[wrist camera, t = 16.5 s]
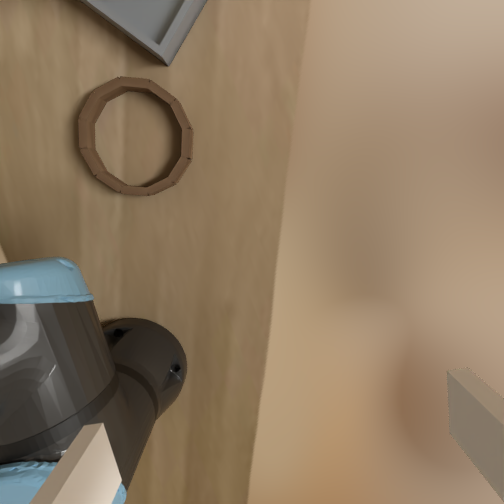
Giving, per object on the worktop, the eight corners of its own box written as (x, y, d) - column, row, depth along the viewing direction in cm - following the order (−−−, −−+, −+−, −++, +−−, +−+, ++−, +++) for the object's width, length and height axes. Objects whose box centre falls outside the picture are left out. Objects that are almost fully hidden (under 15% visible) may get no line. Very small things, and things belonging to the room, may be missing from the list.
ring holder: (158, 214, 42) (153, 215, 40) (68, 154, 40) (59, 152, 38) (213, 126, 39) (211, 123, 37) (120, 59, 38) (113, 52, 36)
